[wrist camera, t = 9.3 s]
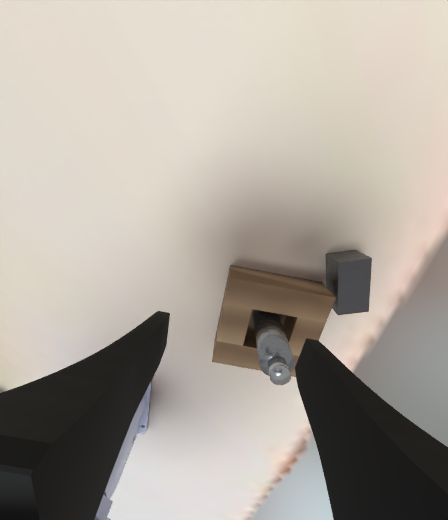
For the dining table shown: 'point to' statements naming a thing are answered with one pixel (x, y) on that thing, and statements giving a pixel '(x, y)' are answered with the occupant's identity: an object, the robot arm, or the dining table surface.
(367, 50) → the dining table surface
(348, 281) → the square bar
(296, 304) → the socket block
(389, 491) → the robot arm
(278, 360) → the round bit
